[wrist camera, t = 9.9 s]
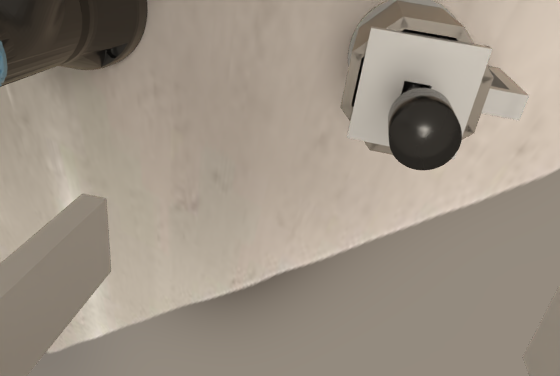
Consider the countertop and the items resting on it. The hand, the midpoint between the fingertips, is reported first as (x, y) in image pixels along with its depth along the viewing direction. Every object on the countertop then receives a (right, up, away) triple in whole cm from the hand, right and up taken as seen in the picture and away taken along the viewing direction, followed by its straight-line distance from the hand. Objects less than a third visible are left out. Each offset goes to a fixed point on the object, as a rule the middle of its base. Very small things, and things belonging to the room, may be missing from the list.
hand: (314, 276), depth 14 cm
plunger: (+11, +14, +31) cm, 35 cm away
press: (+13, +16, +35) cm, 41 cm away
